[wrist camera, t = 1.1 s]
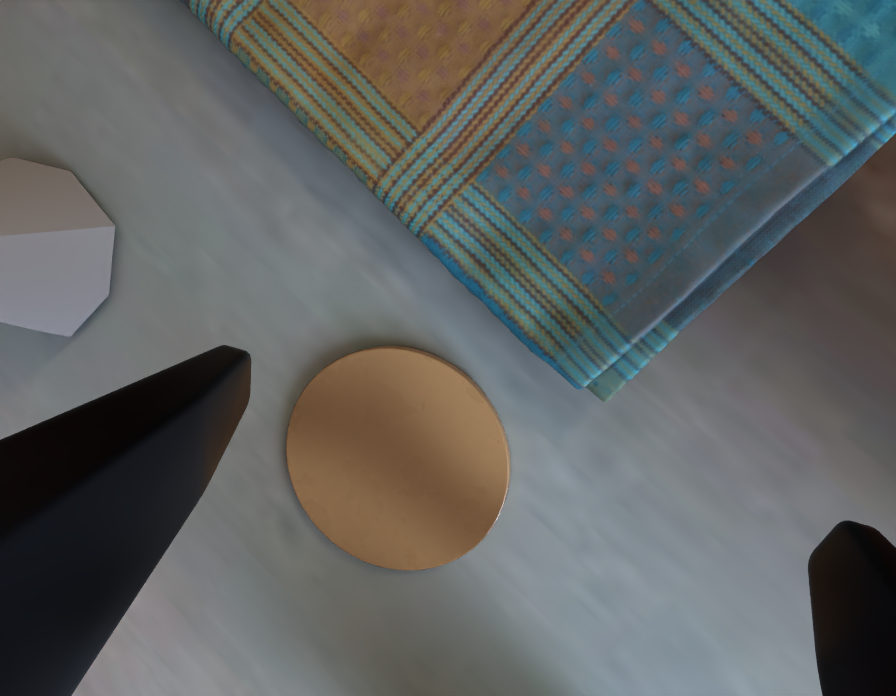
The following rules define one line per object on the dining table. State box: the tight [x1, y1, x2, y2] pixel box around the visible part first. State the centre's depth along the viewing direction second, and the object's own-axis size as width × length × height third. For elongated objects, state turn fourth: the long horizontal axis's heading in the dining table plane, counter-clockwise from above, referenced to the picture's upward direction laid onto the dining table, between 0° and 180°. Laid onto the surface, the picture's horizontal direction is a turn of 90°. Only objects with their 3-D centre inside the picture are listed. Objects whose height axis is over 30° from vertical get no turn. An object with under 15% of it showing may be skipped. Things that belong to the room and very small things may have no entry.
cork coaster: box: [286, 346, 511, 570], centre depth 24 cm, size 9×9×1 cm
